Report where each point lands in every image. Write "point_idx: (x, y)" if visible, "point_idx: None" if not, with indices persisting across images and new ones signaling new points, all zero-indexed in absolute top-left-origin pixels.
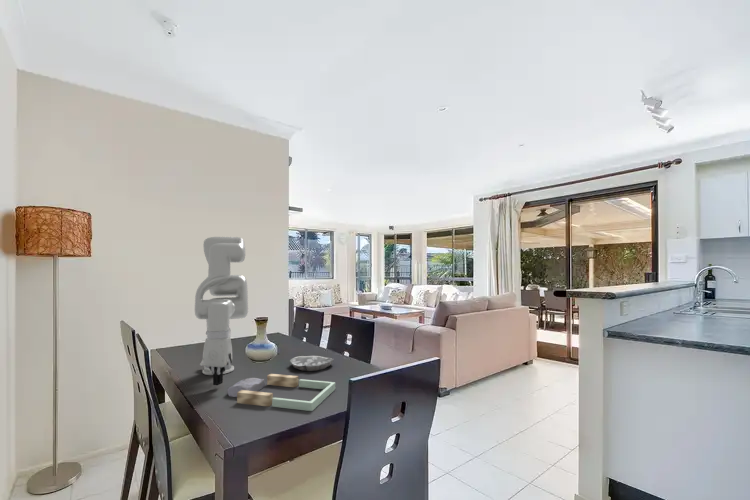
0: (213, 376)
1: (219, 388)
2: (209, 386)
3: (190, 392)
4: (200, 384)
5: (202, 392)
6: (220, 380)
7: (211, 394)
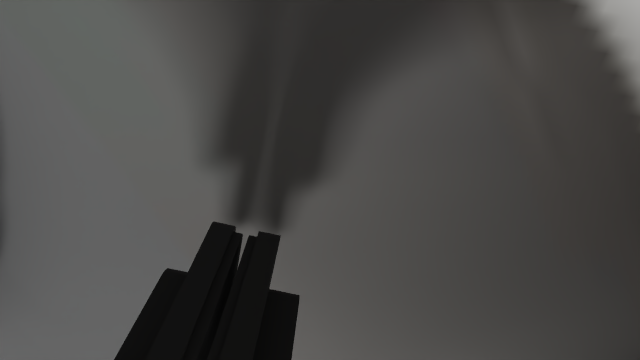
0: (249, 340)
1: None
2: (398, 293)
3: (589, 83)
4: (540, 347)
5: (392, 88)
6: (157, 294)
7: (199, 4)
